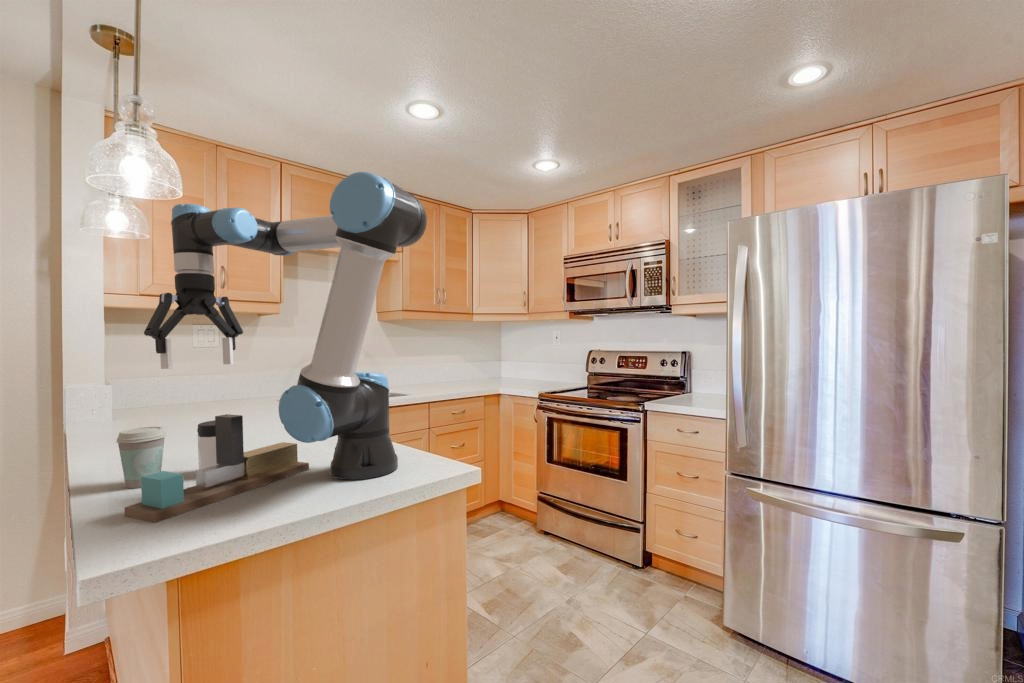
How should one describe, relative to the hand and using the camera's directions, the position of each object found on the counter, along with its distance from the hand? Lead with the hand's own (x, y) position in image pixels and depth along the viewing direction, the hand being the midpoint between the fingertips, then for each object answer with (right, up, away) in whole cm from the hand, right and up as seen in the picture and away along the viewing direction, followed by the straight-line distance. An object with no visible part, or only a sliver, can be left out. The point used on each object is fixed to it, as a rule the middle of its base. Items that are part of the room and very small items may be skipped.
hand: (199, 366), depth 104 cm
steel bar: (+14, -23, -5) cm, 27 cm away
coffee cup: (-9, -26, -4) cm, 28 cm away
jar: (+3, -26, +3) cm, 26 cm away
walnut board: (+13, -25, -9) cm, 30 cm away
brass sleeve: (+16, -24, -1) cm, 29 cm away
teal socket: (+8, -24, -21) cm, 33 cm away
